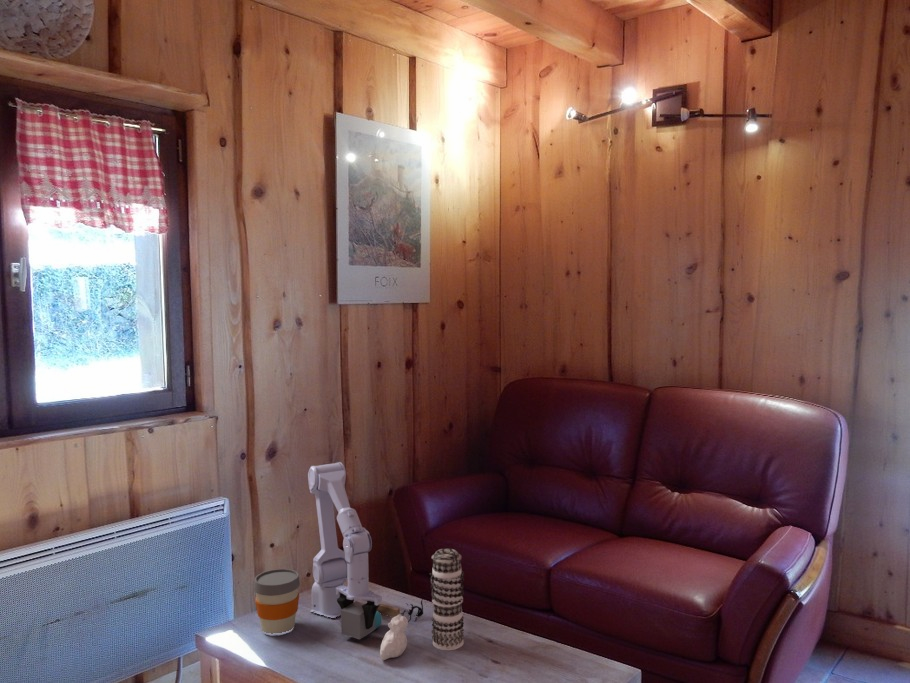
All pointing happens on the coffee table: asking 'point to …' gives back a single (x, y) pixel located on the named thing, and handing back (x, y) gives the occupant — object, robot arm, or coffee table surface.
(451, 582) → the decorative candle
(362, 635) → the grey matte cube
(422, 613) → the creature
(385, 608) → the stopper bar
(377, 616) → the ball
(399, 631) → the bust
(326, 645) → the coffee table surface
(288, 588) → the reusable coffee cup
